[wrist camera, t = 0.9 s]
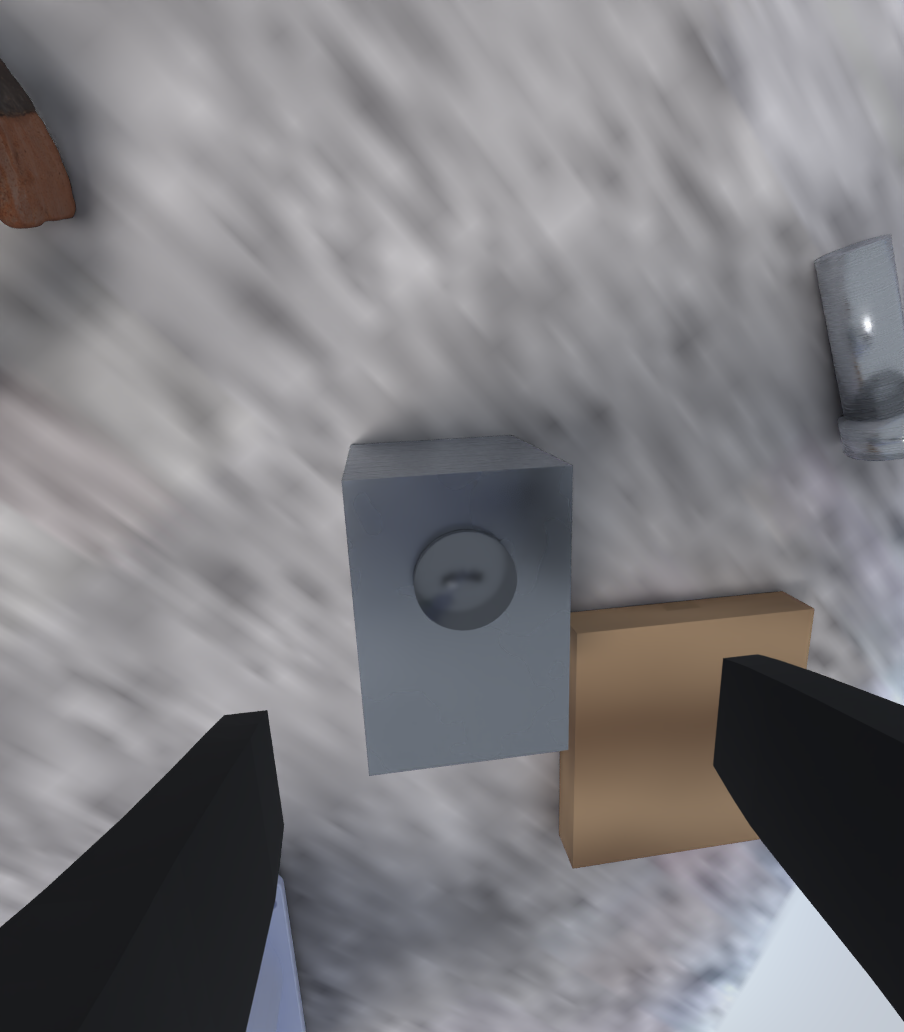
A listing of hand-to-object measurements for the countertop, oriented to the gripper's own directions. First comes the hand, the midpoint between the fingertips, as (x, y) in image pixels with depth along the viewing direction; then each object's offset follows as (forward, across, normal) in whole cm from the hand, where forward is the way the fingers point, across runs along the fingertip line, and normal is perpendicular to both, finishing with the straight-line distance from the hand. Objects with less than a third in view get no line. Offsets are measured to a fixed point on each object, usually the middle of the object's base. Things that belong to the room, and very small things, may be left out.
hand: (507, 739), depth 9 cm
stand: (+9, -8, +7) cm, 14 cm away
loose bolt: (+9, -13, -6) cm, 17 cm away
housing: (+9, 0, 0) cm, 9 cm away
